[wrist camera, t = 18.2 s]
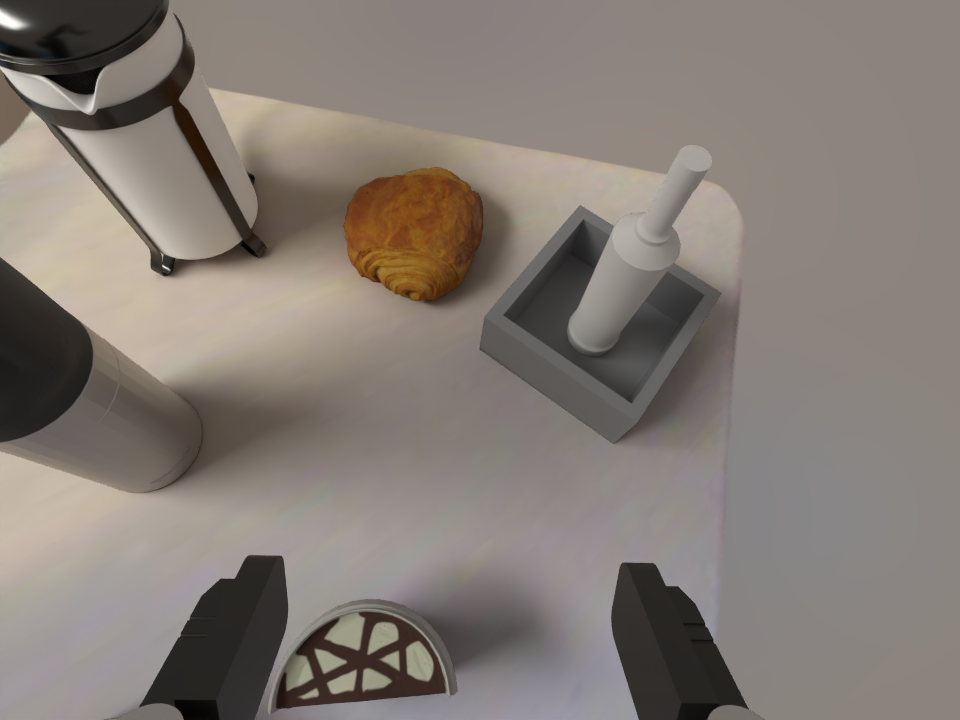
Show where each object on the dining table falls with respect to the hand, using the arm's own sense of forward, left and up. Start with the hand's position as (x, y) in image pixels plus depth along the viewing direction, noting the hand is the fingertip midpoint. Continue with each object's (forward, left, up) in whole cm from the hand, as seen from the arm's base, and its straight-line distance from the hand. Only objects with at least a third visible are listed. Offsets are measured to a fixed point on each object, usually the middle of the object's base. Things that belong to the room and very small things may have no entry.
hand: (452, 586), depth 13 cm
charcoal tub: (-3, +28, -37) cm, 46 cm away
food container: (-2, -6, -37) cm, 37 cm away
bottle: (-3, +28, -36) cm, 45 cm away
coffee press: (-44, +14, -37) cm, 59 cm away
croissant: (-25, +26, -37) cm, 52 cm away
